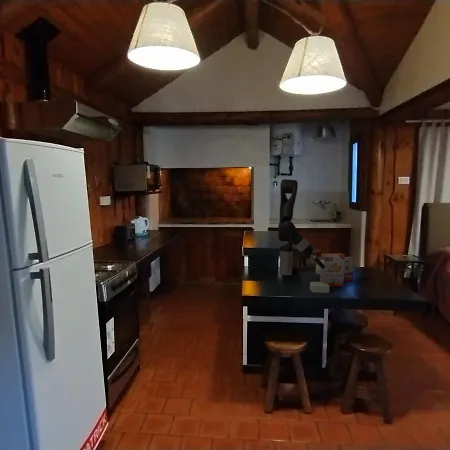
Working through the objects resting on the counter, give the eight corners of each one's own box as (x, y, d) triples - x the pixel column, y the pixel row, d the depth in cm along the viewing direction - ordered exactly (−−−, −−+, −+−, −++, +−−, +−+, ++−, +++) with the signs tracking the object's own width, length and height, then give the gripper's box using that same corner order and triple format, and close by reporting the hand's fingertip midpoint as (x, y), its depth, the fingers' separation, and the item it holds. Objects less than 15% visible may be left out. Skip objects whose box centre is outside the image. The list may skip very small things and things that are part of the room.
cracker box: (323, 287, 246) (324, 255, 244) (319, 285, 252) (320, 253, 250) (343, 286, 249) (345, 254, 247) (339, 284, 255) (340, 252, 253)
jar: (315, 272, 241) (315, 256, 240) (323, 272, 240) (324, 256, 239) (316, 274, 236) (317, 258, 235) (325, 274, 235) (325, 258, 234)
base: (309, 287, 244) (310, 281, 244) (325, 288, 244) (326, 282, 243) (312, 292, 235) (312, 285, 234) (329, 292, 234) (329, 286, 233)
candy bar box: (348, 279, 267) (349, 256, 265) (353, 281, 262) (354, 257, 261) (334, 281, 263) (335, 257, 261) (339, 282, 258) (340, 258, 257)
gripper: (310, 244, 229) (330, 265, 230) (307, 241, 244) (325, 260, 244) (301, 253, 230) (320, 273, 231) (298, 249, 245) (316, 268, 245)
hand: (323, 266), depth 237 cm, fingers closed on jar, 5 cm apart
